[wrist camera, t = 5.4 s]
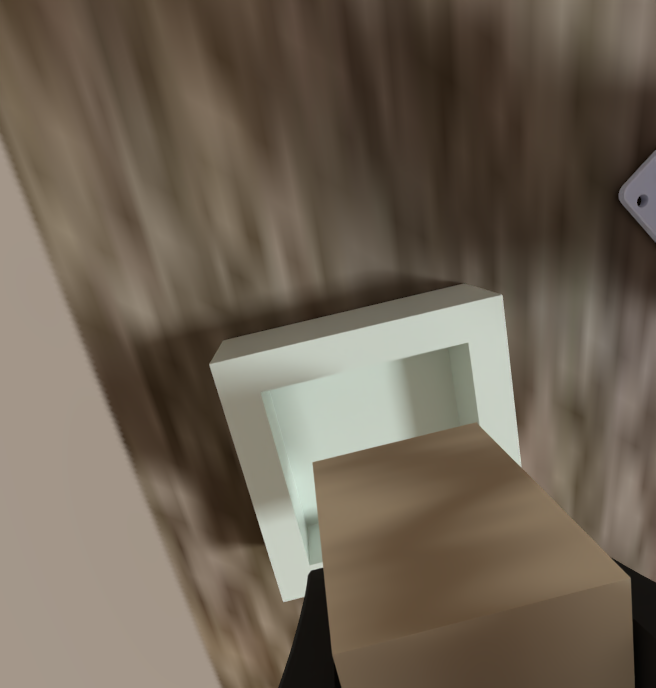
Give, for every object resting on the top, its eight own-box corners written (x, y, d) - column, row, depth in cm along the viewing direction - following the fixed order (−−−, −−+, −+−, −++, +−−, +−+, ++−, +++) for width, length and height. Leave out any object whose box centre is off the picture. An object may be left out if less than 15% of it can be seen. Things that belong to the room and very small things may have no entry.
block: (476, 422, 13) (630, 577, 7) (495, 558, 14) (638, 784, 8) (312, 462, 13) (332, 655, 7) (346, 596, 14) (388, 853, 8)
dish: (464, 283, 19) (502, 294, 16) (492, 492, 22) (529, 539, 19) (223, 340, 19) (209, 364, 16) (283, 544, 22) (283, 602, 18)
